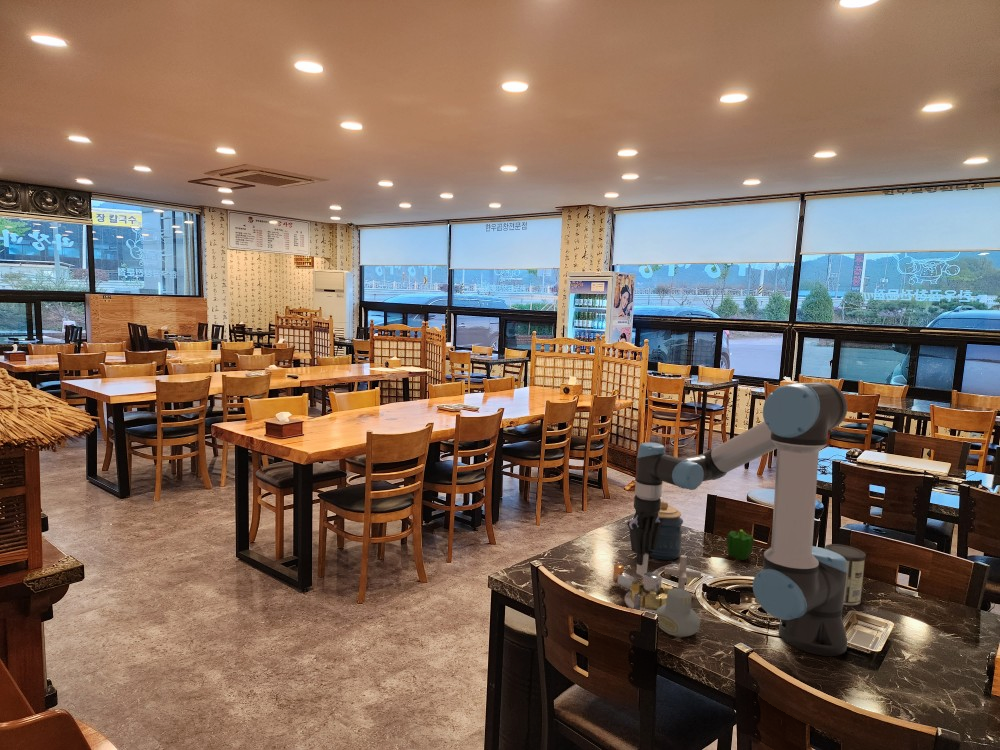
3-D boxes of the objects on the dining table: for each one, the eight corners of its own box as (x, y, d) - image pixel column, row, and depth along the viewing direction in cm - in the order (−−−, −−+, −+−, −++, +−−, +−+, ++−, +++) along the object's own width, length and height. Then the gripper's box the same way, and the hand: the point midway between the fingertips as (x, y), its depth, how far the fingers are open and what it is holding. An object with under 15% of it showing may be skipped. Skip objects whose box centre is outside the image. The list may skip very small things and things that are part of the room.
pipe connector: (701, 599, 172) (704, 565, 171) (664, 594, 174) (667, 560, 173) (697, 584, 182) (699, 551, 181) (662, 579, 184) (664, 547, 183)
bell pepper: (729, 550, 210) (731, 522, 209) (754, 556, 205) (757, 527, 204) (721, 557, 203) (724, 528, 202) (747, 564, 198) (750, 534, 197)
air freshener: (648, 625, 156) (651, 588, 155) (669, 617, 161) (672, 580, 160) (684, 645, 147) (687, 606, 146) (705, 636, 152) (708, 597, 151)
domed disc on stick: (680, 602, 166) (681, 587, 166) (652, 612, 160) (653, 596, 160) (628, 575, 182) (629, 561, 182) (600, 583, 176) (601, 568, 176)
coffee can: (825, 586, 185) (830, 540, 183) (864, 598, 178) (869, 551, 176) (815, 596, 177) (820, 549, 176) (855, 609, 170) (860, 560, 169)
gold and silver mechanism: (688, 609, 166) (690, 580, 165) (632, 628, 154) (635, 598, 153) (648, 588, 178) (650, 561, 177) (594, 605, 166) (596, 576, 165)
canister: (685, 561, 198) (689, 508, 196) (645, 559, 198) (649, 506, 197) (674, 546, 211) (678, 496, 209) (636, 544, 211) (640, 494, 210)
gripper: (653, 489, 184) (647, 565, 187) (622, 495, 177) (616, 573, 179) (673, 497, 178) (666, 574, 180) (641, 503, 170) (635, 584, 173)
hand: (641, 574), depth 180 cm, fingers closed
